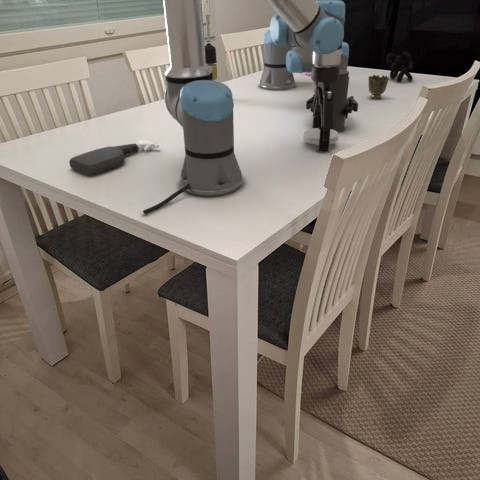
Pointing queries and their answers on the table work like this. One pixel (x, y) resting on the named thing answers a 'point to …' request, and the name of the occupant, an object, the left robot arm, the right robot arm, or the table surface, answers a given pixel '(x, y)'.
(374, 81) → the cup
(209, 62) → the filter
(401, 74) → the squiggle
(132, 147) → the spray bottle
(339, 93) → the jar
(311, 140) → the lid
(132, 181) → the table surface
